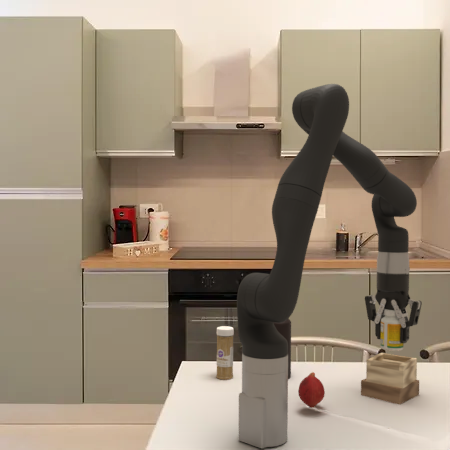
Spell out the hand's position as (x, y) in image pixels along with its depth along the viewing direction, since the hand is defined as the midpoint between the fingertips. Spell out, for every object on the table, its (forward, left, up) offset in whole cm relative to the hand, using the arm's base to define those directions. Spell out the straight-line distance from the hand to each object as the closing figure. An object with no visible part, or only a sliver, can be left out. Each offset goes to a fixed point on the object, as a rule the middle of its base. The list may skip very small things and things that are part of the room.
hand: (392, 340), depth 141 cm
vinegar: (-7, +29, -13) cm, 33 cm away
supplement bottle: (0, 0, -2) cm, 2 cm away
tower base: (0, 0, -14) cm, 14 cm away
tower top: (0, 0, -10) cm, 10 cm away
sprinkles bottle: (-17, +39, -13) cm, 45 cm away
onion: (-21, +9, -13) cm, 26 cm away
